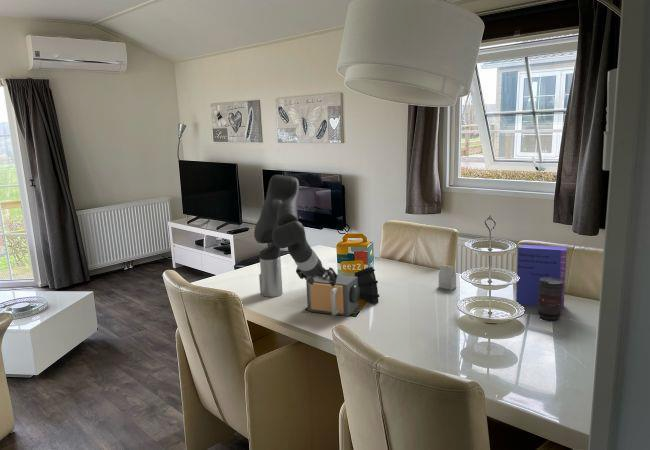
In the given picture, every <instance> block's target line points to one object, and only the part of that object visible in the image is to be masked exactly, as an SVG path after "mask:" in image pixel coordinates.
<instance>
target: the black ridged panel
mask: <svg viewBox="0 0 650 450" xmlns="http://www.w3.org/2000/svg"><path fill="white" fill-rule="evenodd" d="M375 271H376V269H375V268H374V267H373V266H369V267H366V268H363V269H361V270H359V271H355V272H353V273H354V276H355V277H358V286H359V289H360V296H359V299H361V300H363V301H366V302H369V303H370V304H371V305H375V304H377V303H379V298H380V294H379V292H378V291H379V289H378V284H379V281H378V280H377V279H376V275H375V274H376V273H375Z"/></svg>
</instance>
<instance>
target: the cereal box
mask: <svg viewBox="0 0 650 450" xmlns="http://www.w3.org/2000/svg"><path fill="white" fill-rule="evenodd" d="M567 248H568V247H567V246H553V245H551V246H549V245H548V246H547V245H535V244H534V245H531V244H518V247H517V261H516V262H517V263H516V264H517V265H516V266H517V267H516V268H517V269H516V276H517V275H518V276H519V277H520V279H519V281H518V282H517V281H516V293H515V298H516V299H515V303H516V302H518V303H519V304H521V305H520V306H527V307H528V306H529V307H536V308H538V303H539V302H538V296H539V282H540V279H541V278H545V277H550V278H556V279H559V280H561V281H562V282H563V292H562V300H561V310H564V309H565V307H564V306H565V288H566V272H567V268H566V267H567V256H568V255H567V254H568V253H567V251H568V249H567Z"/></svg>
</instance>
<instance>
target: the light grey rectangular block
mask: <svg viewBox="0 0 650 450" xmlns="http://www.w3.org/2000/svg"><path fill="white" fill-rule="evenodd" d="M438 288H442V289H444V290H445V289H446V290H449V291H453V290H455V289H457V274H456V271H455V267H453V266H449V265H445V264H441V265H440V269H439V272H438Z"/></svg>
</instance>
